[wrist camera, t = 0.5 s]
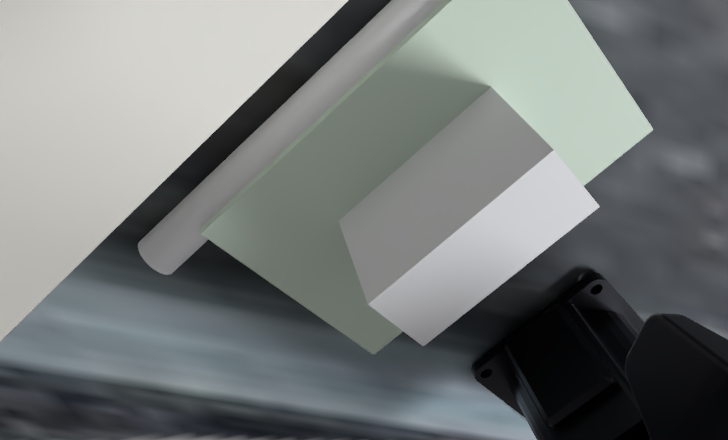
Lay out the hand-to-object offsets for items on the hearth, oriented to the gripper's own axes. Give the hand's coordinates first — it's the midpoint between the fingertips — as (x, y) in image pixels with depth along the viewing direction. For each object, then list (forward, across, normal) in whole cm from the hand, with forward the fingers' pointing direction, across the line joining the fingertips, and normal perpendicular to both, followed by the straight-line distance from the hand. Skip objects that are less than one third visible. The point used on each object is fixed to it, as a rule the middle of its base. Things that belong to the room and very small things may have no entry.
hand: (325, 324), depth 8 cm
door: (+13, -6, +3) cm, 15 cm away
